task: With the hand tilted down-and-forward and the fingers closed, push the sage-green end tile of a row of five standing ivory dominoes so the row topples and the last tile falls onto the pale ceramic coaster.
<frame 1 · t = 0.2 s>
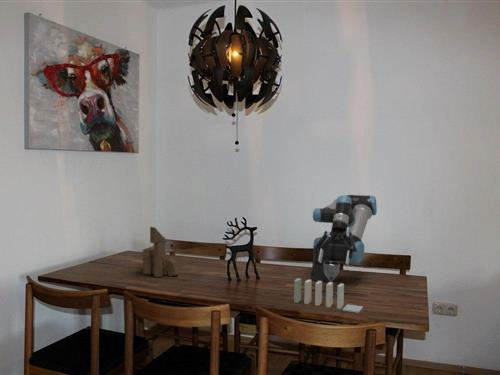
hand: (333, 263, 221), 15 cm above the table, tool tilted 35°, fingers open, 13 cm apart
domino 2: (307, 302, 208), on the table
domino 4: (329, 305, 204), on the table
domino 3: (318, 304, 206), on the table
domino 5: (340, 307, 201), on the table
coaster: (352, 309, 199), on the table
domino 1: (297, 301, 210), on the table
wine glass: (330, 293, 224), on the table
wooden blocks: (164, 274, 261), on the table
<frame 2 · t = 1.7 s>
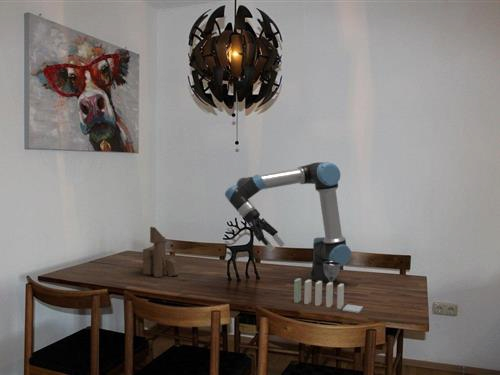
hand: (278, 247, 214), 24 cm above the table, tool tilted 45°, fingers open, 12 cm apart
nothing on the table moved.
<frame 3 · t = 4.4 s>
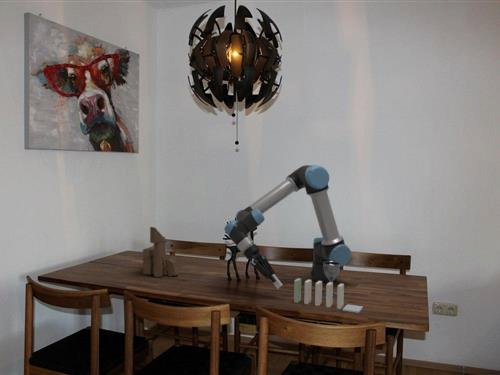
hand: (280, 286, 214), 6 cm above the table, tool tilted 45°, fingers closed
nothing on the table moved.
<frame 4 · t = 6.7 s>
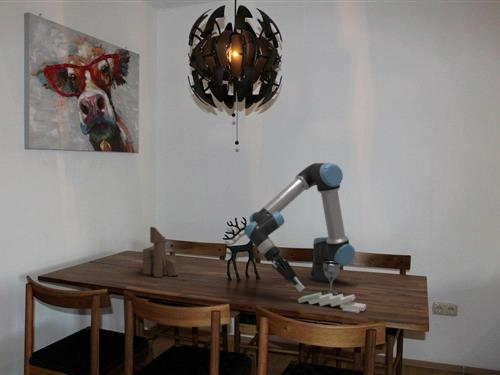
hand: (302, 289, 209), 6 cm above the table, tool tilted 45°, fingers closed
domino 2: (310, 301, 207), point 1 cm above the table, tilted 69°, touching domino 1, domino 3
domino 4: (332, 303, 203), point 1 cm above the table, tilted 67°, touching domino 3, domino 5
domino 3: (321, 302, 205), point 1 cm above the table, tilted 67°, touching domino 2, domino 4
domino 5: (341, 304, 201), point 1 cm above the table, tilted 90°, touching coaster, domino 4
domino 1: (300, 299, 210), point 1 cm above the table, tilted 70°, touching domino 2
everything else where it was.
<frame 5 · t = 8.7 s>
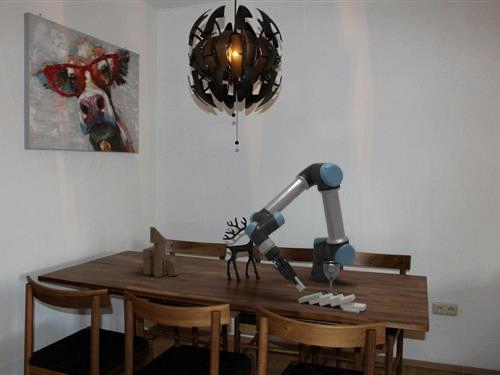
hand: (302, 289, 209), 6 cm above the table, tool tilted 45°, fingers closed
domino 2: (311, 301, 207), point 1 cm above the table, tilted 68°, touching domino 3
domino 1: (300, 300, 210), point 1 cm above the table, tilted 70°
everything else where it was.
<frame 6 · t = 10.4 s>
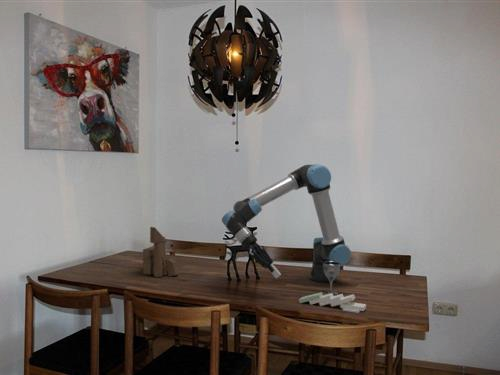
hand: (278, 276, 214), 10 cm above the table, tool tilted 45°, fingers closed
nothing on the table moved.
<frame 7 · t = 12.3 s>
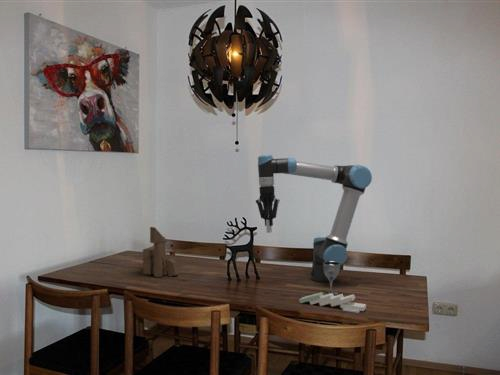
hand: (269, 232, 232), 28 cm above the table, tool pointing down, fingers closed
domino 2: (311, 301, 207), point 1 cm above the table, tilted 67°, touching domino 1, domino 3
domino 1: (301, 300, 209), point 1 cm above the table, tilted 69°, touching domino 2
everything else where it was.
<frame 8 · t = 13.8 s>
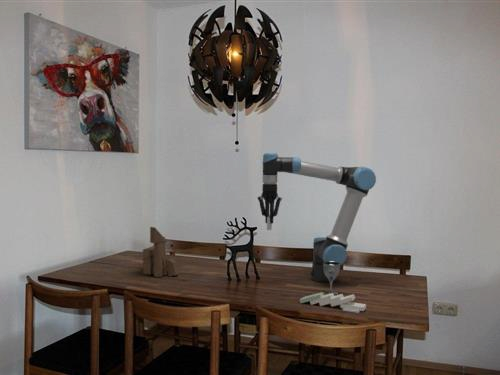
hand: (269, 229, 234), 29 cm above the table, tool pointing down, fingers closed
nothing on the table moved.
at the end: domino 5 tilted 90°; domino 1 tilted 69° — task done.
